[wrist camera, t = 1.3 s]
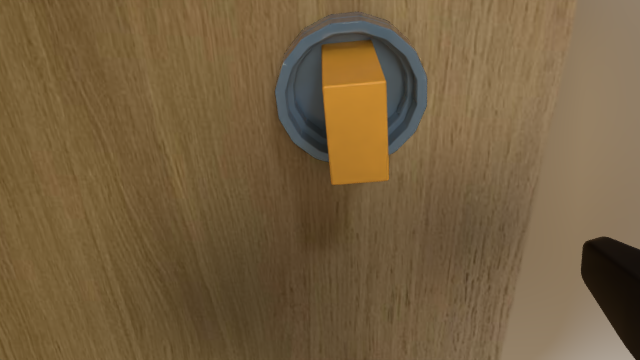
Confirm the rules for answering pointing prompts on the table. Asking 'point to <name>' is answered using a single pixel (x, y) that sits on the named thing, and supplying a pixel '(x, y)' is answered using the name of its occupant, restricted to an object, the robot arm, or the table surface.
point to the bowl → (306, 80)
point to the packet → (355, 112)
